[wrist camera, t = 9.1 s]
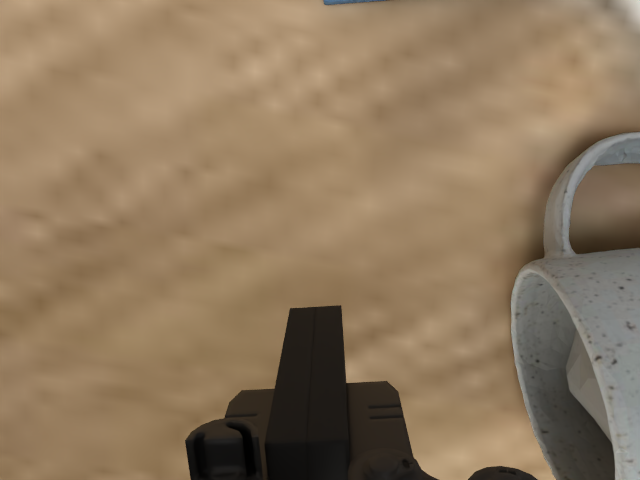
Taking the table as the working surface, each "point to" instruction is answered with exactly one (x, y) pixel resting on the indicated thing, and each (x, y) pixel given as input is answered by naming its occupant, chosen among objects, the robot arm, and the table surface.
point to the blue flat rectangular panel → (345, 1)
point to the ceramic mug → (581, 338)
